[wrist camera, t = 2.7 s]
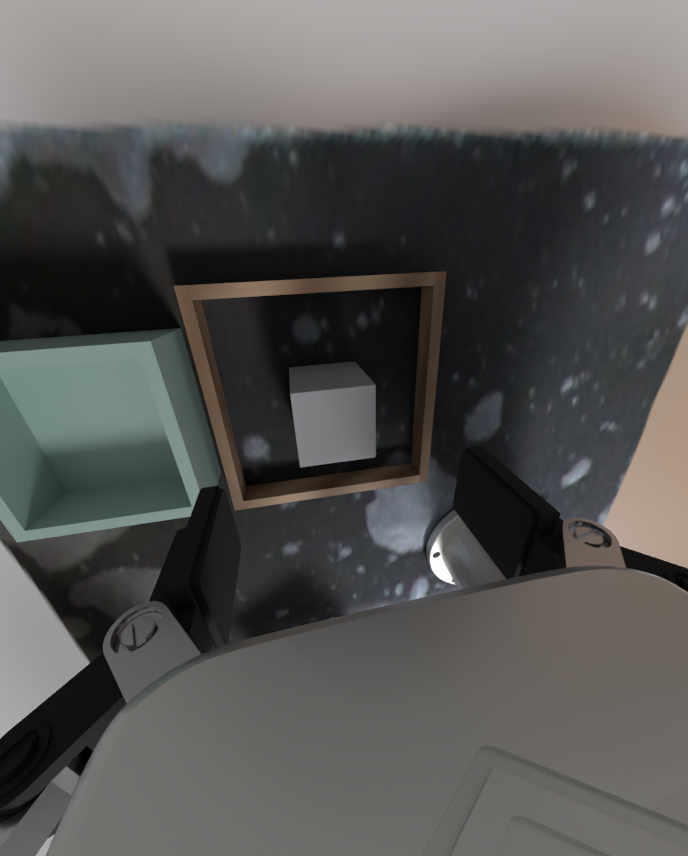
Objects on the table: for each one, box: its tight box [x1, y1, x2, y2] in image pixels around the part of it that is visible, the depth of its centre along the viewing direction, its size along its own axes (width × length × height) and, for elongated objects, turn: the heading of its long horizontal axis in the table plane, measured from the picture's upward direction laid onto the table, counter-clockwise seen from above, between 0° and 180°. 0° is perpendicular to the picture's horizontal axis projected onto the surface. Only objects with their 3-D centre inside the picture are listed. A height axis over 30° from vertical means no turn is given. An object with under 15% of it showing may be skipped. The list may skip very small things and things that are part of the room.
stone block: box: [289, 361, 376, 468], centre depth 21 cm, size 5×5×6 cm
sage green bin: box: [0, 328, 221, 542], centre depth 19 cm, size 12×12×5 cm
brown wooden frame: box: [174, 271, 447, 510], centre depth 23 cm, size 17×17×2 cm
